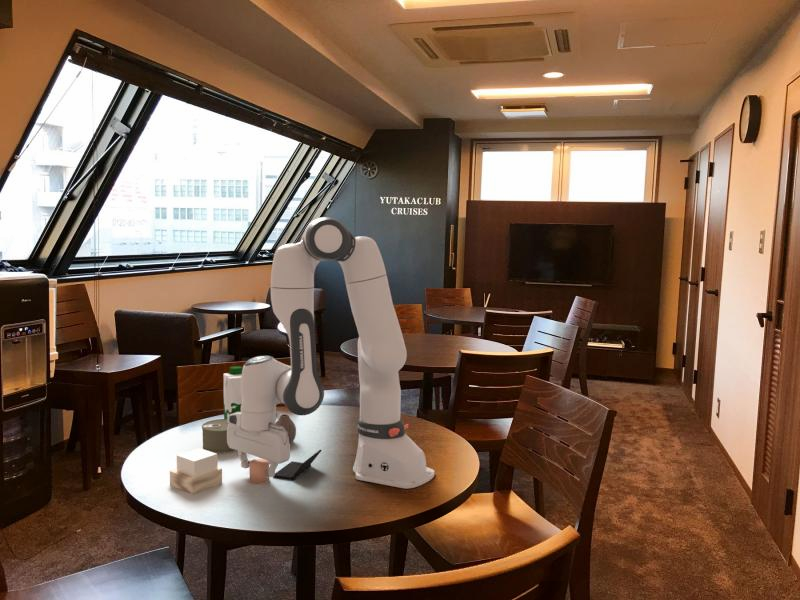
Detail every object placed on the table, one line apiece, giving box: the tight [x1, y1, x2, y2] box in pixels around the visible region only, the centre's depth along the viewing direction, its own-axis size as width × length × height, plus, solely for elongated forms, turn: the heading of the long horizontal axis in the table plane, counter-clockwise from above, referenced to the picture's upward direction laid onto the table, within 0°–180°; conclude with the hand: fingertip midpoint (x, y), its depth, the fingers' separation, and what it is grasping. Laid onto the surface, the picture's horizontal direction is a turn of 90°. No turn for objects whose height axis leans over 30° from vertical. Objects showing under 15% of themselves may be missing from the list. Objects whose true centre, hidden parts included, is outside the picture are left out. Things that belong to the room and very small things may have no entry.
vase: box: [276, 413, 297, 445], centre depth 192 cm, size 7×7×9 cm
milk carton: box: [223, 365, 243, 419], centre depth 205 cm, size 9×9×20 cm
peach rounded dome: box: [248, 458, 270, 485], centre depth 163 cm, size 5×5×5 cm
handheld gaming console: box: [272, 449, 322, 481], centre depth 169 cm, size 12×7×10 cm
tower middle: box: [176, 447, 219, 477], centre depth 160 cm, size 7×7×4 cm
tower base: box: [169, 466, 223, 495], centre depth 160 cm, size 9×9×4 cm
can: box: [201, 418, 238, 454], centre depth 188 cm, size 12×12×7 cm
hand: (257, 471), depth 163 cm, fingers open, 8 cm apart
